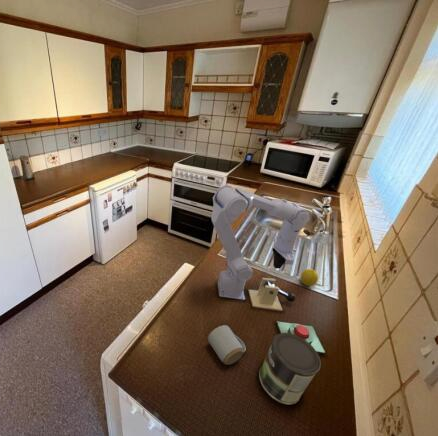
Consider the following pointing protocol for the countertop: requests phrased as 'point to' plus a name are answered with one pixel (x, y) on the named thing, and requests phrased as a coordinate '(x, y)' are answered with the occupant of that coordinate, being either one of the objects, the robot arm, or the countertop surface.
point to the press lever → (288, 296)
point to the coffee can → (288, 368)
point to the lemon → (309, 277)
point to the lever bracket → (266, 296)
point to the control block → (311, 338)
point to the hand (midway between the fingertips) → (276, 267)
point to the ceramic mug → (226, 344)
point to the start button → (301, 331)
